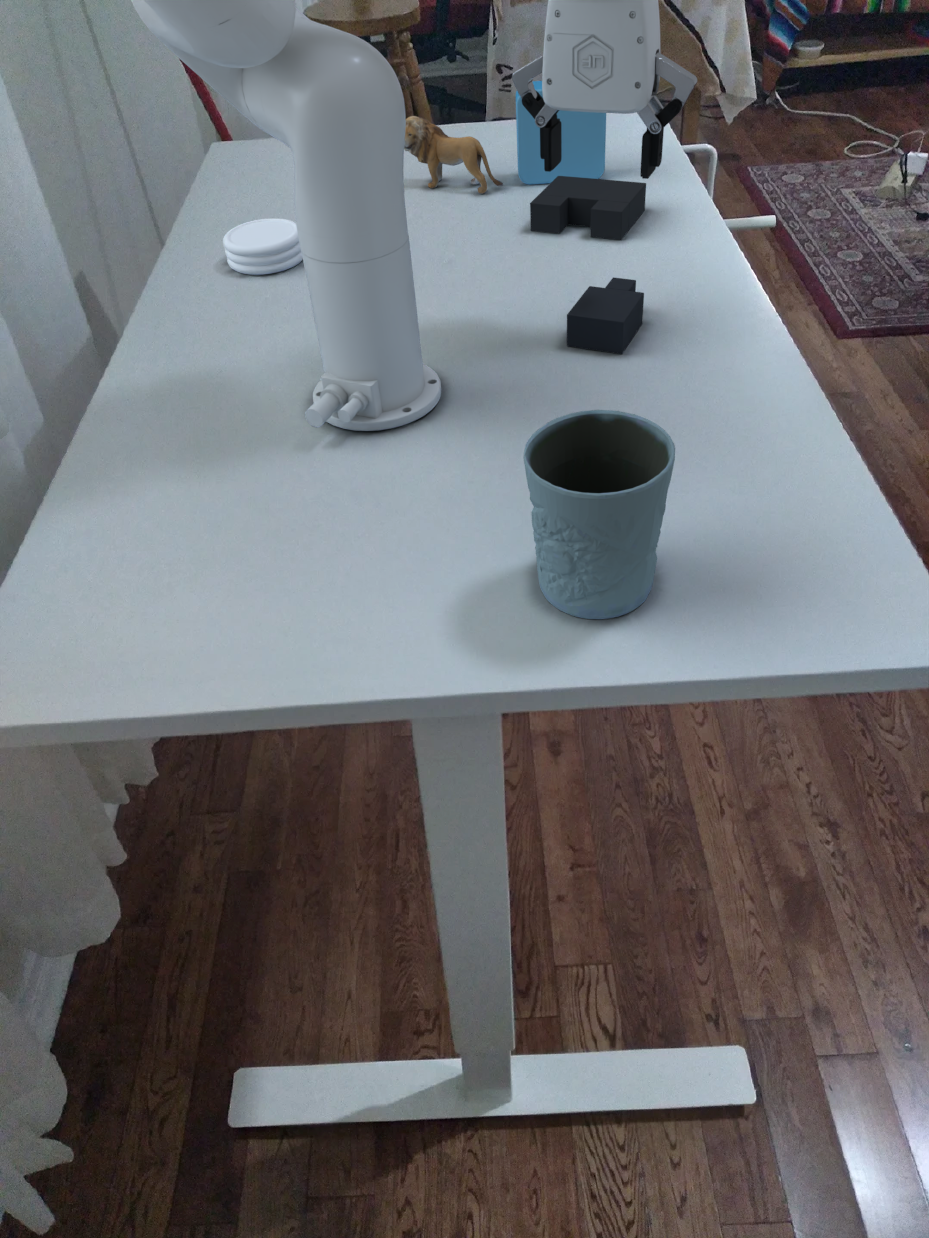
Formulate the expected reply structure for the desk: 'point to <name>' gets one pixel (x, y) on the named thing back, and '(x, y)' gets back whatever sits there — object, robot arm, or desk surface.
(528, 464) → the embossed blue-grey cup
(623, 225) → the notch pad
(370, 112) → the robot arm
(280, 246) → the coaster
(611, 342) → the pad
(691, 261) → the desk surface
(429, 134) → the lion figurine
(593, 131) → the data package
